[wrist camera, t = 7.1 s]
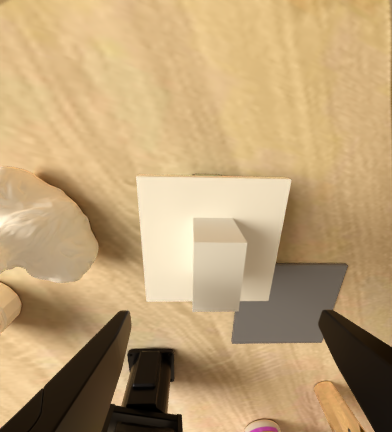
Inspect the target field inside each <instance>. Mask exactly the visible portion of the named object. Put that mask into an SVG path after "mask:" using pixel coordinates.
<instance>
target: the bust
mask: <svg viewBox="0 0 392 432" xmlns="http://www.w3.org/2000/svg"><path fill="white" fill-rule="evenodd" d="M98 250H99V245H98V242H97V240H96V238H95V236H94V234H93V233H92V231H91V228H90V223H89V220H88V218H87V216H86V215H84V214H83V212H82V211H81V209H80V208H79V206H78V205H77V204H76V203H75V202H74V201H73V200H72V199H71V198H69V197H68V196H67V195H66V194H65V192H64V191H62V190H61V189H59V188H57V187H54V186H52V185H49V184H47V183H46V182H44V181H43V180H41V179H40V178H38V177H37V176H35V175H34V174H33V173H31V172H29V171H27V170H24V169H20V168H15V167H8V166H0V274H1V273H2V272H3V271H5V270H8V269H13V268H15V267H21V268H24V269H26V271H27V272H28V273H29V274H30V275H31V276H32V277H35V278H38V279H42V280H49V281H52V282H56V283H68V282H74V281H77V280H79V279H81V277H82V276H83V274H85V273H86V272H87V271H88V270H89V269H90V267H91V265H92V263H93V262H94V261H95V259H96V257H97V254H98Z"/></svg>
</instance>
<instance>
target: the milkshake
mask: <svg viewBox="0 0 392 432" xmlns="http://www.w3.org/2000/svg"><path fill="white" fill-rule="evenodd" d="M314 392H315V394H316V396H317V399H318V401H319V403H320V405H321V408H322V410H323V412H324V414H325V416H326V419H327V421H328V423H329V425H330V428H331V430H332V432H366V431H365V430H364V428H363V427H362V426H361V424H360V423H359V421H358V420H357V418H356V417H355V415H354V414H353V412H352V411H351V409H350V408H349V407H348V405H347V404H346V402H345V401H344V399H343V398H342V396H341V395H340V393H339V392H338V390H337V389H336V387H335V386H334V385H333V384H332V383H331V382H330V381H323V382H319V383H318V384H317V385H315V387H314Z"/></svg>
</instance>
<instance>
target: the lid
mask: <svg viewBox="0 0 392 432" xmlns="http://www.w3.org/2000/svg"><path fill="white" fill-rule="evenodd" d="M291 180H292V179H289V178H286V177H245V176H193V175H138V176H136V181H137V193H138V205H139V218H140V230H141V242H142V254H143V266H144V278H145V290H146V302H154V301H192V312H229V311H239V304H240V301H268V300H269V295H270V290H271V285H272V279H273V274H274V269H275V264H276V259H277V253H278V248H279V243H280V238H281V232H282V227H283V222H284V217H285V211H286V206H287V201H288V196H289V190H290V185H291Z"/></svg>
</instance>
